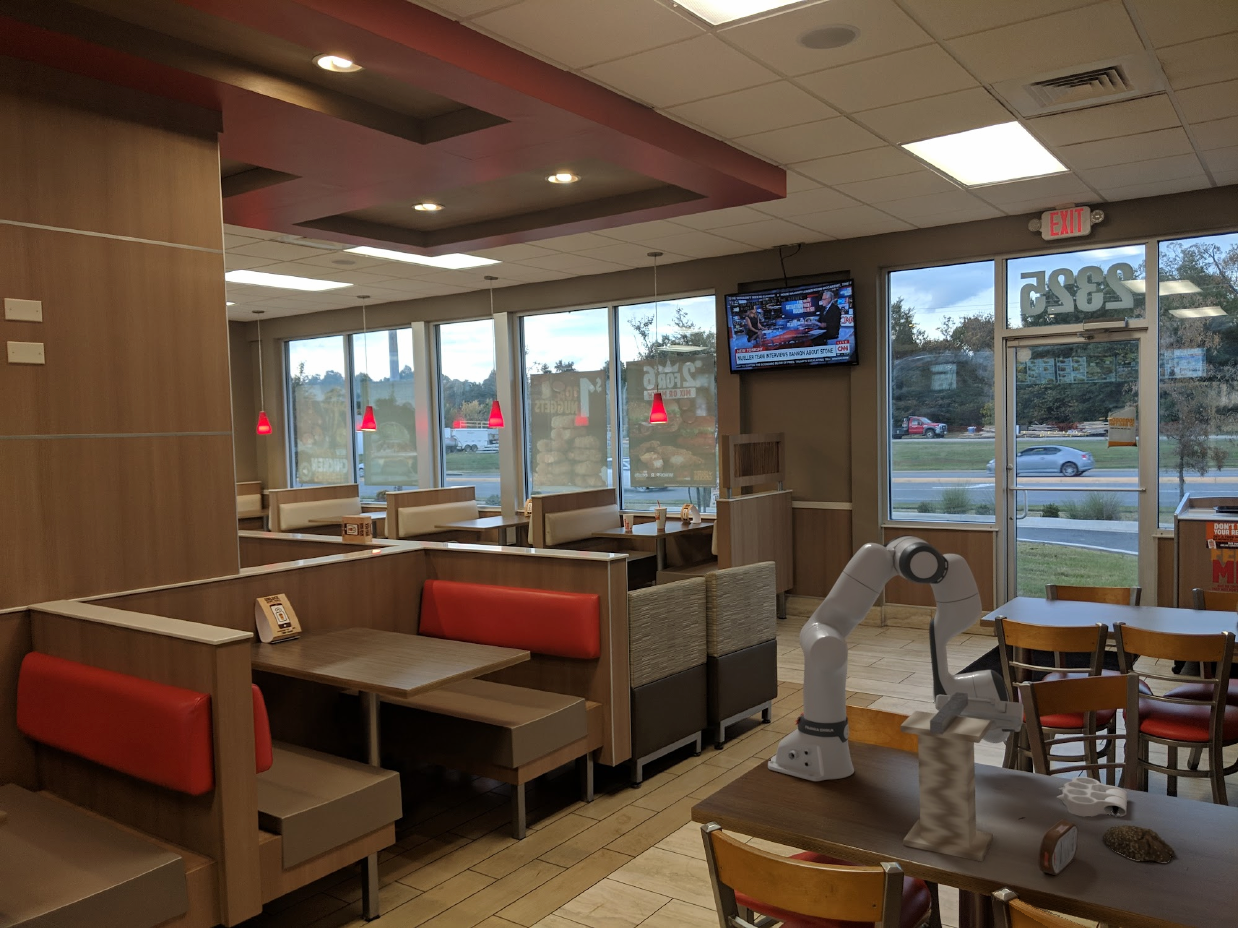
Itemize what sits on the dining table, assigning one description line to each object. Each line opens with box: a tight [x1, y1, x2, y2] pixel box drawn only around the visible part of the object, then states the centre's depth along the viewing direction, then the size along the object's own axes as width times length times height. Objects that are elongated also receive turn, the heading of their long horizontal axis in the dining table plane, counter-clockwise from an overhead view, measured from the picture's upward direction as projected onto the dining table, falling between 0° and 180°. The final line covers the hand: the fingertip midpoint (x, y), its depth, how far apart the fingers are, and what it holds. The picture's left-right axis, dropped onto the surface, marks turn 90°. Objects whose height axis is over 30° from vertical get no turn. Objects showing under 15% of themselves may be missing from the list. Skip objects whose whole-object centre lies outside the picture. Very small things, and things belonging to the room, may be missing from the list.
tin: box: [1038, 818, 1079, 876], centre depth 185 cm, size 15×3×8 cm, turn 134°
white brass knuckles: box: [1056, 776, 1128, 817], centre depth 216 cm, size 3×18×15 cm
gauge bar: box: [930, 692, 968, 734], centre depth 200 cm, size 24×2×2 cm, turn 147°
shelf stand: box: [899, 710, 994, 862], centre depth 197 cm, size 16×12×26 cm
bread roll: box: [1102, 824, 1176, 863], centre depth 191 cm, size 13×12×5 cm
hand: (973, 699), depth 220 cm, fingers open, 8 cm apart
